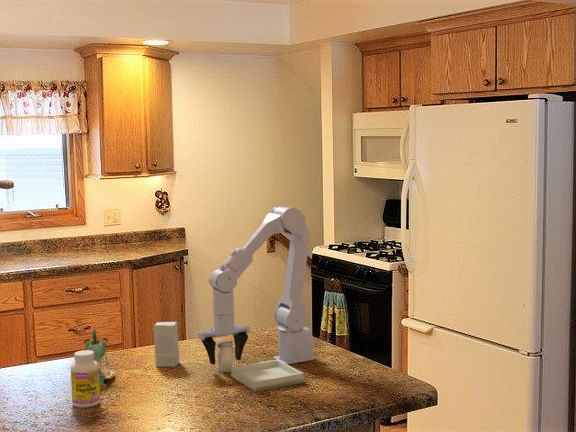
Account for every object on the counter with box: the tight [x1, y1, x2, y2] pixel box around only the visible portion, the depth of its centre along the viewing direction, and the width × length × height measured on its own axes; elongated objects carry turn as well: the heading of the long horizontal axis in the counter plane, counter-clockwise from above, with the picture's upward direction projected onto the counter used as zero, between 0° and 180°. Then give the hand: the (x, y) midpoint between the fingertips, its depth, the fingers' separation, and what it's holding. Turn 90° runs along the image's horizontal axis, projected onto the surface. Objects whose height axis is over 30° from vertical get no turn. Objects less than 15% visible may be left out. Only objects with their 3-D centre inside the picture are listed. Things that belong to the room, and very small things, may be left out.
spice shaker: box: [216, 339, 234, 373], centre depth 217 cm, size 4×4×8 cm
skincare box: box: [153, 321, 180, 368], centre depth 223 cm, size 6×4×12 cm
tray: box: [230, 359, 305, 393], centre depth 208 cm, size 14×15×2 cm
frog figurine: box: [83, 329, 116, 390], centre depth 212 cm, size 10×18×15 cm, turn 7°
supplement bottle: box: [70, 349, 101, 409], centre depth 192 cm, size 7×7×13 cm
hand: (225, 361), depth 217 cm, fingers open, 7 cm apart
